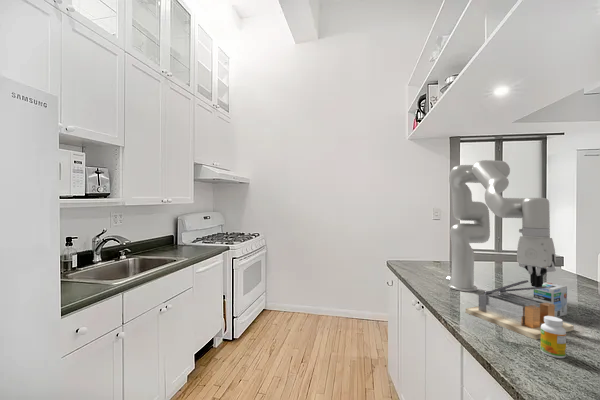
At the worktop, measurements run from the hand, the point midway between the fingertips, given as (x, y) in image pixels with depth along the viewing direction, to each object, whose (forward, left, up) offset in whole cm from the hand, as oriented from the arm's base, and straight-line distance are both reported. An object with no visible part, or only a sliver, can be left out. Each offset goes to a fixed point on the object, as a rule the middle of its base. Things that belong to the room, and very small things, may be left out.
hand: (536, 286), depth 103 cm
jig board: (-4, -4, -13) cm, 14 cm away
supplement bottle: (+15, -19, -13) cm, 27 cm away
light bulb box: (-4, +16, -13) cm, 21 cm away
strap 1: (-5, -8, -2) cm, 10 cm away
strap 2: (-5, 0, -3) cm, 6 cm away
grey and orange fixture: (-5, -4, -12) cm, 13 cm away
